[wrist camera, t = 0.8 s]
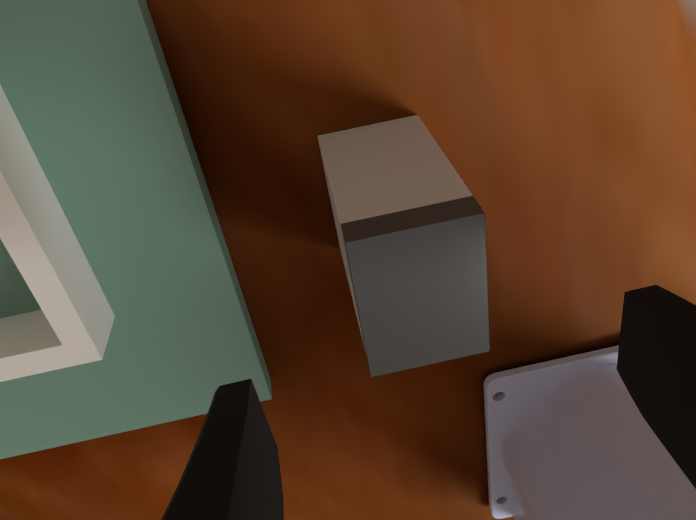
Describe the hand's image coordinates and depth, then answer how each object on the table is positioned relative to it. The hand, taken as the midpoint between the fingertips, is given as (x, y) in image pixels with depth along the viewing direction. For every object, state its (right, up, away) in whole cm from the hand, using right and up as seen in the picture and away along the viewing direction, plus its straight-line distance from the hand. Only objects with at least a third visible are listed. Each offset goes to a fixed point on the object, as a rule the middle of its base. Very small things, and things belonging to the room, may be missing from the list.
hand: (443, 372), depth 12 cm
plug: (-1, +5, +7) cm, 9 cm away
